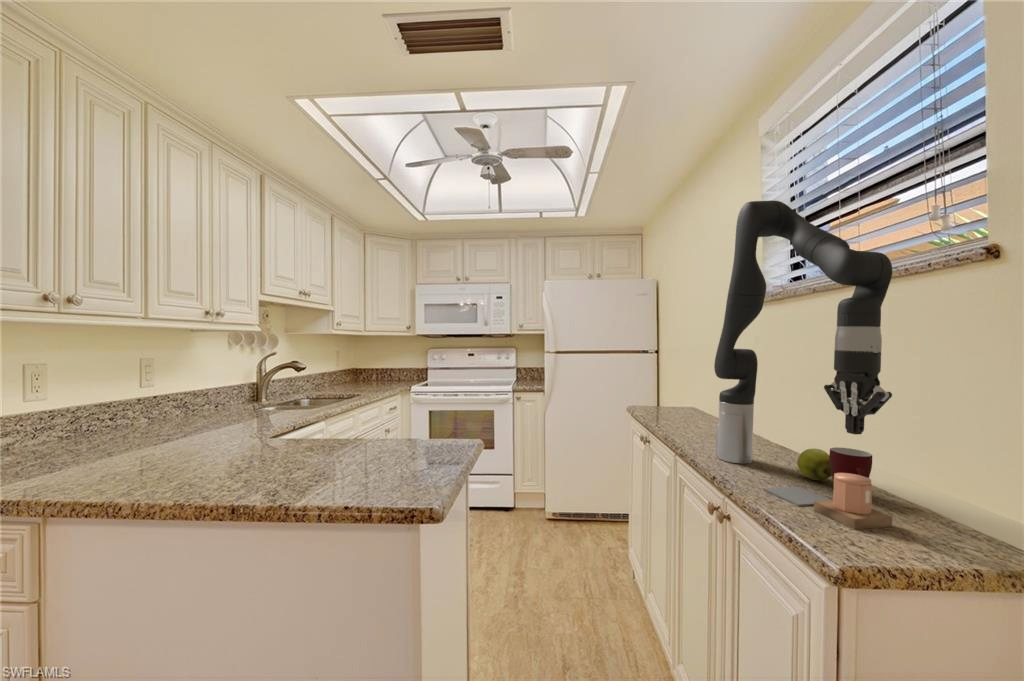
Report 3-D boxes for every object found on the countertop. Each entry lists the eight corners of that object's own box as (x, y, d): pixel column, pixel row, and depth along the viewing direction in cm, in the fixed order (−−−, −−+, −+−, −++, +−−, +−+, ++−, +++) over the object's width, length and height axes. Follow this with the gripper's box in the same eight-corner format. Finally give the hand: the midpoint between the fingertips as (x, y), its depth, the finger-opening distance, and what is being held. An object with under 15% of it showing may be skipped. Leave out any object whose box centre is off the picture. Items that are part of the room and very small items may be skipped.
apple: (820, 474, 118) (821, 445, 118) (842, 486, 109) (843, 454, 109) (790, 473, 119) (791, 444, 119) (809, 484, 110) (810, 453, 110)
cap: (826, 503, 92) (827, 473, 92) (849, 502, 93) (850, 472, 93) (855, 515, 86) (855, 483, 86) (879, 513, 87) (880, 481, 87)
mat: (763, 489, 105) (763, 488, 105) (798, 488, 107) (798, 486, 107) (798, 506, 95) (798, 504, 95) (836, 503, 97) (836, 502, 97)
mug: (887, 505, 97) (888, 460, 97) (847, 502, 98) (849, 458, 98) (856, 488, 108) (858, 448, 108) (821, 486, 109) (822, 446, 109)
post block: (813, 510, 93) (815, 478, 93) (848, 508, 95) (849, 476, 95) (854, 529, 84) (855, 493, 84) (892, 526, 86) (893, 491, 86)
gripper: (813, 347, 95) (810, 427, 95) (874, 350, 82) (871, 442, 82) (842, 348, 96) (839, 426, 97) (907, 350, 83) (903, 441, 84)
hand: (854, 433), depth 89 cm, fingers closed
